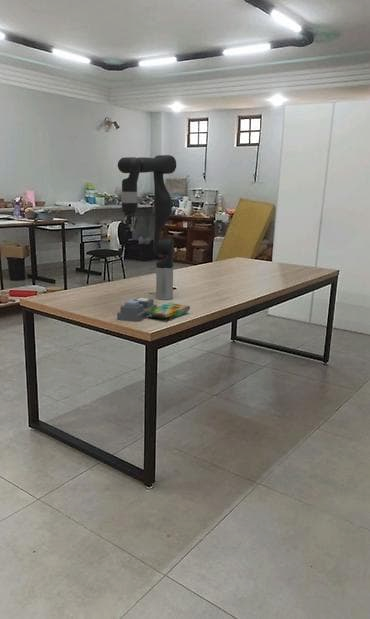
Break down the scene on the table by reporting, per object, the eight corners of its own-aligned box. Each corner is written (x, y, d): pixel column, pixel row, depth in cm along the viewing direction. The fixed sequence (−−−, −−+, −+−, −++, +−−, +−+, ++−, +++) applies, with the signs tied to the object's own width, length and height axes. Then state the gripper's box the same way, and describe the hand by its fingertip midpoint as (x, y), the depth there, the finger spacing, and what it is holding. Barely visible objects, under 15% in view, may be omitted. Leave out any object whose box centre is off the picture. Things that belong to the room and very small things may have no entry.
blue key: (129, 306, 221) (129, 300, 221) (139, 307, 220) (139, 301, 219) (124, 308, 217) (124, 302, 216) (134, 309, 215) (134, 303, 215)
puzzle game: (189, 304, 229) (165, 312, 213) (189, 313, 231) (165, 322, 214) (170, 301, 236) (145, 308, 219) (170, 310, 237) (145, 318, 220)
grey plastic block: (136, 308, 237) (136, 296, 236) (156, 310, 234) (156, 298, 233) (117, 319, 217) (116, 306, 215) (139, 321, 214) (139, 308, 212)
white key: (140, 303, 234) (140, 297, 233) (149, 304, 232) (149, 298, 232) (136, 306, 229) (136, 300, 228) (145, 306, 228) (145, 300, 227)
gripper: (128, 201, 229) (128, 237, 234) (116, 201, 217) (116, 239, 221) (142, 201, 227) (142, 238, 231) (131, 202, 215) (131, 240, 219)
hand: (130, 238), depth 226 cm, fingers closed
